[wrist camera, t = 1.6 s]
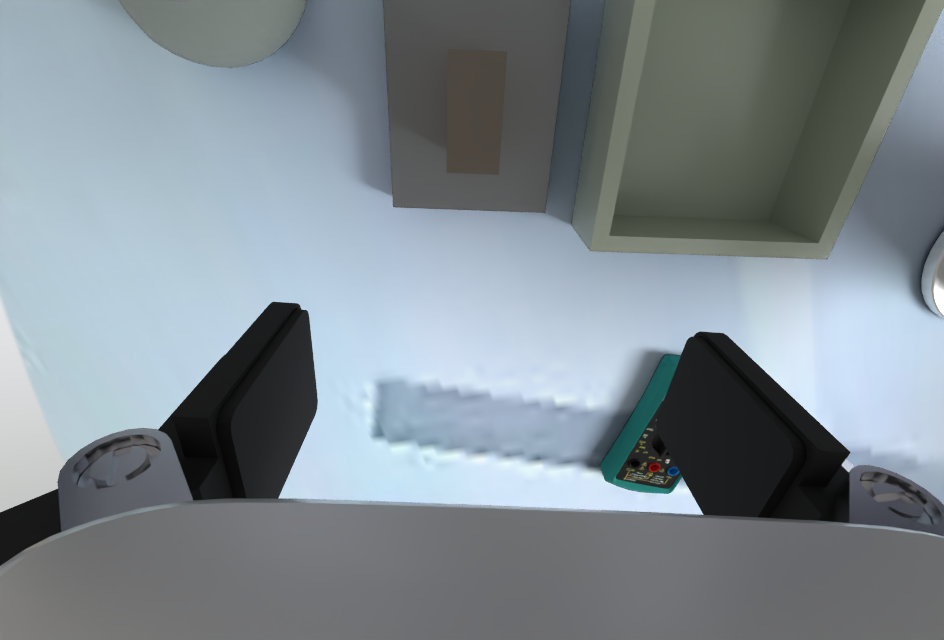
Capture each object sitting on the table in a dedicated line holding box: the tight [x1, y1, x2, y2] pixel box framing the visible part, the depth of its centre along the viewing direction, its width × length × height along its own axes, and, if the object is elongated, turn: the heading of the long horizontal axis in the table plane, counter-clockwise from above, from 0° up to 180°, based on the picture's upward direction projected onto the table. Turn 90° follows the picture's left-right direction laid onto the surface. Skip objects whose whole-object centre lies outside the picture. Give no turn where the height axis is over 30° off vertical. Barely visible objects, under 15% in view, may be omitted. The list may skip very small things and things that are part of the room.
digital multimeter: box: [600, 355, 682, 494], centre depth 40 cm, size 7×15×3 cm, turn 165°
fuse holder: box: [383, 0, 571, 213], centre depth 26 cm, size 10×12×2 cm
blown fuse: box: [446, 49, 507, 175], centre depth 23 cm, size 2×5×9 cm, turn 178°
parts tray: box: [571, 0, 944, 259], centre depth 26 cm, size 15×15×6 cm
